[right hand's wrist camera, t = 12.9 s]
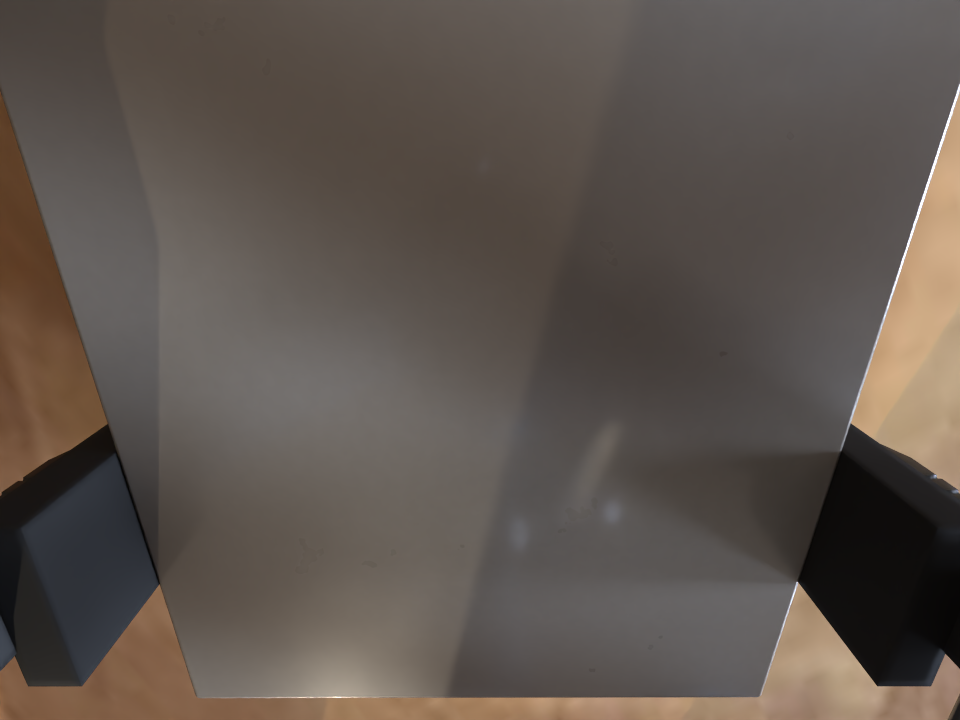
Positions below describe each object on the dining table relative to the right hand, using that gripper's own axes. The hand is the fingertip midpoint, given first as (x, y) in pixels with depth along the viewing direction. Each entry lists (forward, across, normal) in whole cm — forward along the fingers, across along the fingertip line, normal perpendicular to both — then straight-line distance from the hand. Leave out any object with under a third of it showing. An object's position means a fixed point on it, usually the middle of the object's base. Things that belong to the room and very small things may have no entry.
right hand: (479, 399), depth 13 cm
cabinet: (+4, 0, -7) cm, 8 cm away
